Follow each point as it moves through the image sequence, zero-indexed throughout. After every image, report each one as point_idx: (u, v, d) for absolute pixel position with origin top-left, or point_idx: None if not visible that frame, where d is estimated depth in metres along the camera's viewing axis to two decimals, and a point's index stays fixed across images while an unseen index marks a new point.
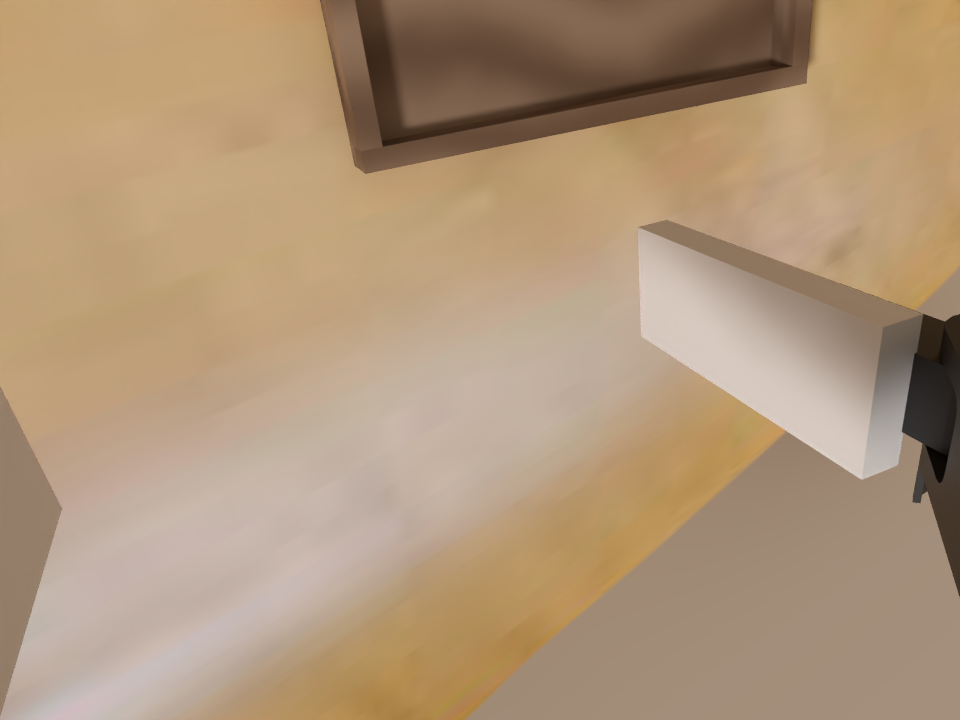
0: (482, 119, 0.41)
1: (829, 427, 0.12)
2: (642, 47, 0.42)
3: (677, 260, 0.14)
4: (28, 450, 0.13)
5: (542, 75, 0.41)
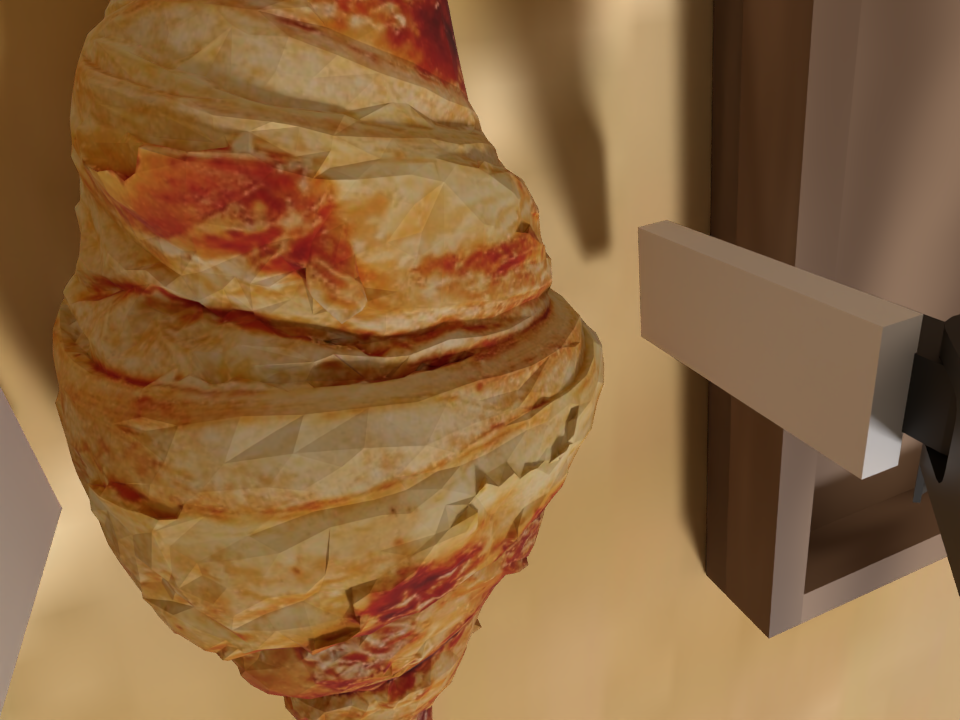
0: None
1: (829, 427, 0.12)
2: None
3: (677, 260, 0.14)
4: (28, 450, 0.13)
5: None
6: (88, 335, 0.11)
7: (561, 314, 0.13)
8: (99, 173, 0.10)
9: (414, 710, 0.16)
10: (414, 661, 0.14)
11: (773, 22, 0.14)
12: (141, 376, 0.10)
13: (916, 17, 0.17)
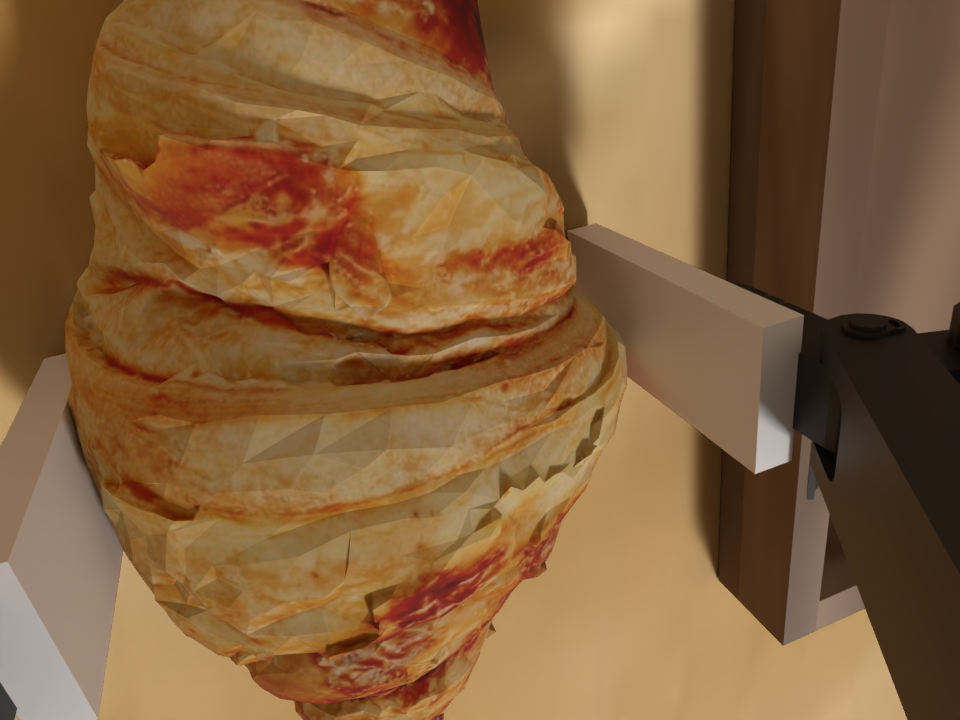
0: None
1: (727, 424, 0.12)
2: None
3: (600, 263, 0.15)
4: None
5: None
6: (102, 329, 0.11)
7: (586, 313, 0.13)
8: (117, 161, 0.09)
9: (427, 716, 0.15)
10: (429, 667, 0.14)
11: (798, 16, 0.14)
12: (157, 373, 0.10)
13: (943, 12, 0.16)
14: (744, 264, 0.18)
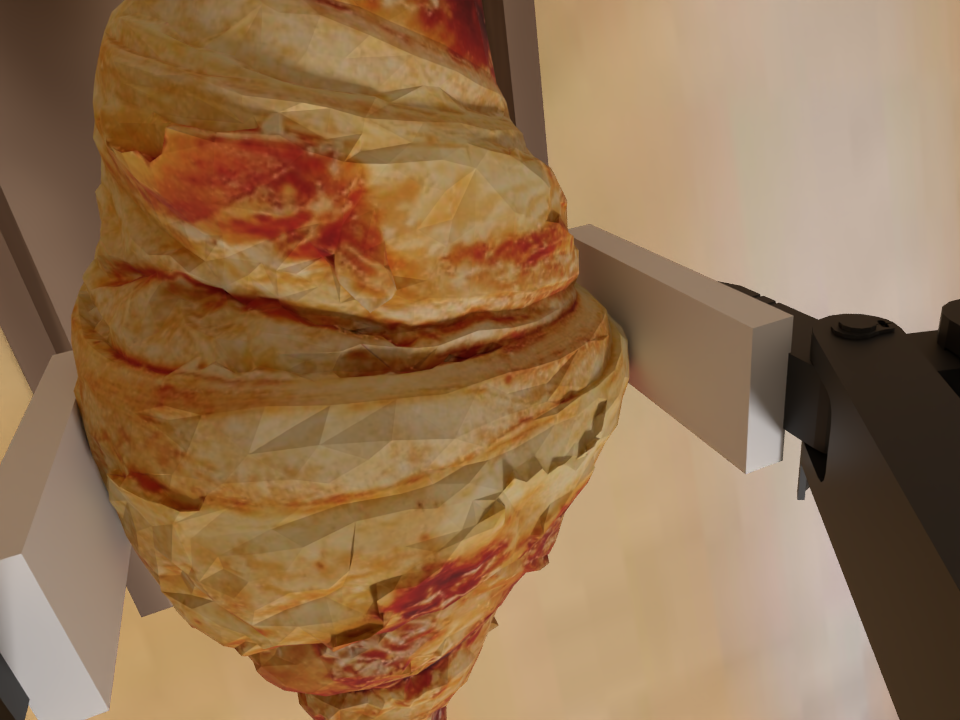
0: None
1: (718, 424, 0.12)
2: None
3: (593, 263, 0.15)
4: None
5: None
6: (109, 322, 0.11)
7: (588, 307, 0.13)
8: (124, 154, 0.09)
9: (430, 708, 0.16)
10: (432, 659, 0.14)
11: None
12: (163, 364, 0.10)
13: None
14: None
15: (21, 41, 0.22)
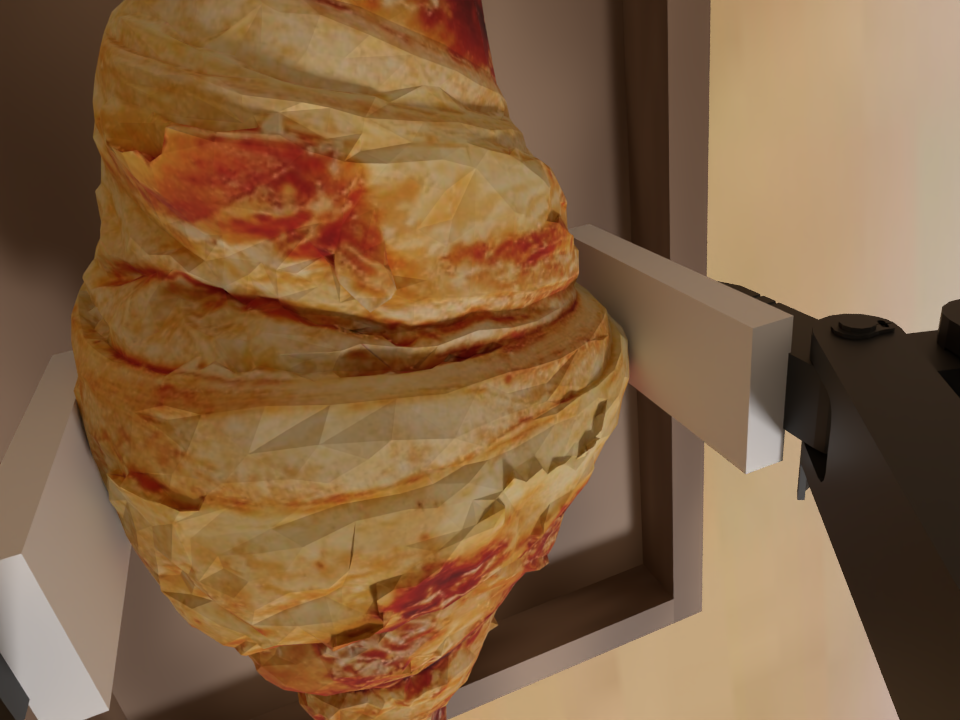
0: (634, 420, 0.24)
1: (718, 424, 0.12)
2: (543, 96, 0.18)
3: (593, 263, 0.15)
4: None
5: None
6: (108, 321, 0.11)
7: (588, 306, 0.13)
8: (124, 154, 0.09)
9: (430, 708, 0.16)
10: (433, 659, 0.14)
11: None
12: (163, 364, 0.10)
13: None
14: None
15: None
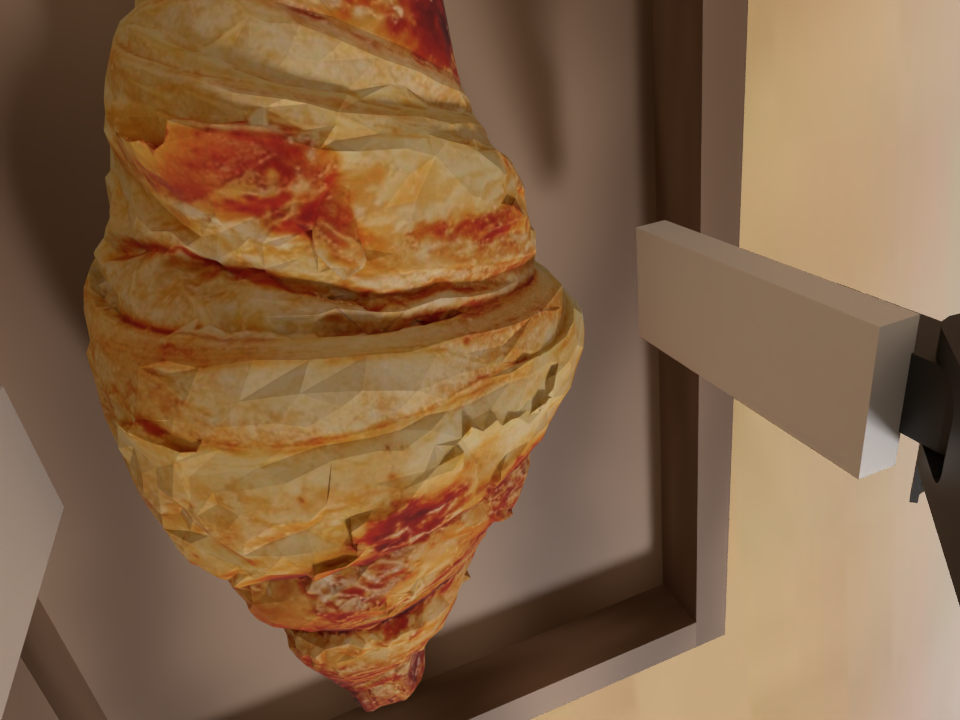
0: (657, 436, 0.23)
1: (826, 427, 0.12)
2: (567, 97, 0.17)
3: (675, 260, 0.14)
4: (31, 448, 0.13)
5: (602, 338, 0.20)
6: (117, 290, 0.12)
7: (545, 282, 0.15)
8: (131, 143, 0.11)
9: (407, 650, 0.17)
10: (407, 599, 0.15)
11: None
12: (165, 326, 0.12)
13: None
14: None
15: None
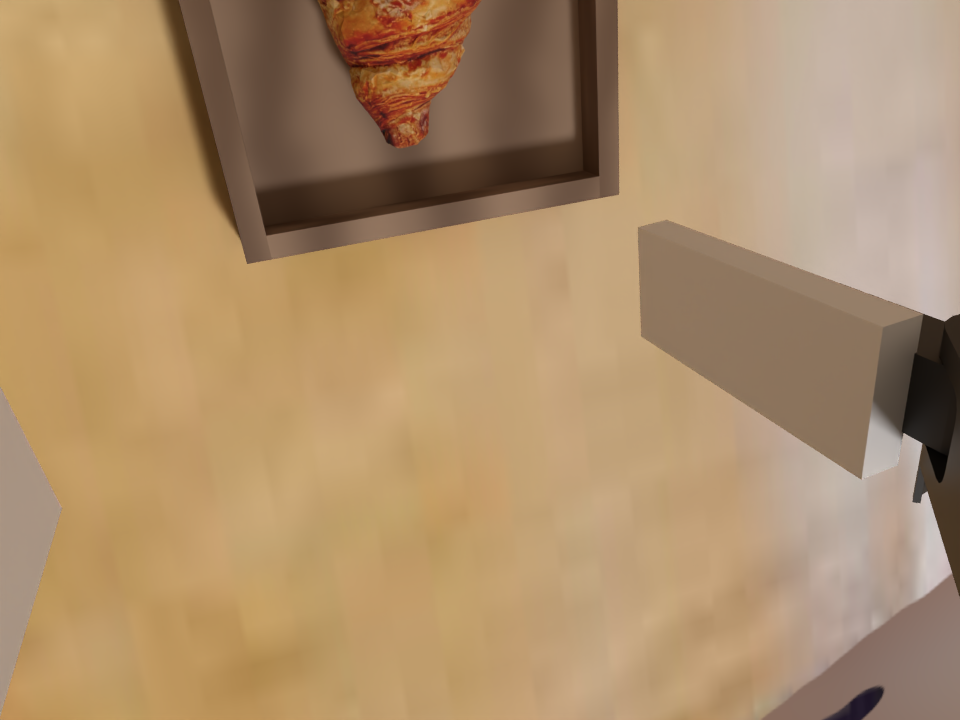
0: (577, 46, 0.37)
1: (829, 427, 0.12)
2: None
3: (677, 260, 0.14)
4: (29, 450, 0.13)
5: None
6: None
7: None
8: None
9: (420, 86, 0.32)
10: (422, 27, 0.30)
11: None
12: None
13: None
14: None
15: None
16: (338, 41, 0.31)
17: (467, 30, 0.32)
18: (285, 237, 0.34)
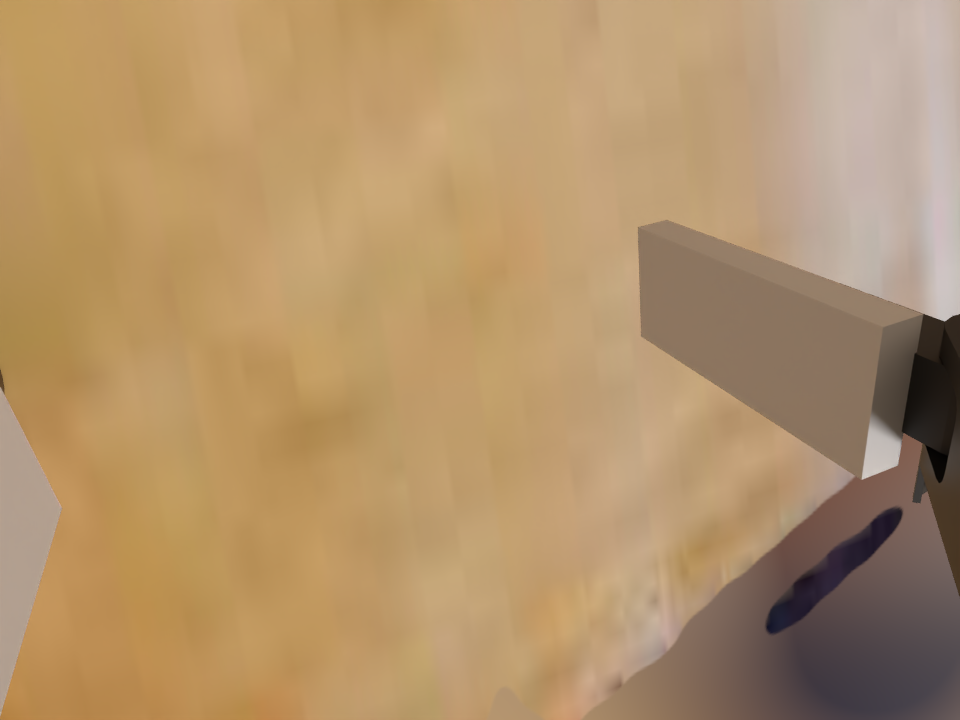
0: None
1: (829, 427, 0.12)
2: None
3: (677, 260, 0.14)
4: (29, 450, 0.13)
5: None
6: None
7: None
8: None
9: None
10: None
11: None
12: None
13: None
14: None
15: None
16: None
17: None
18: None
